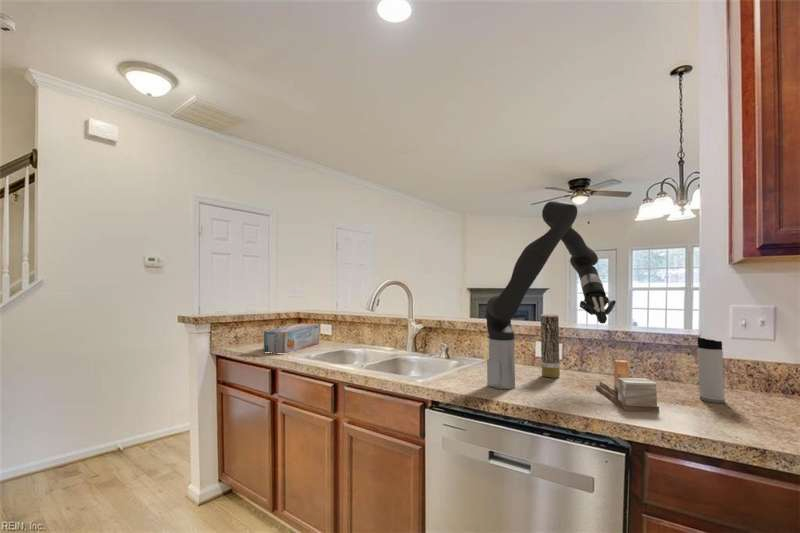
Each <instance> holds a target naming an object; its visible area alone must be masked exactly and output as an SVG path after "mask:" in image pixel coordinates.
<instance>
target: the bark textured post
mask: <svg viewBox="0 0 800 533" xmlns="http://www.w3.org/2000/svg"><path fill="white" fill-rule="evenodd" d="M559 324H560V323H559V314H556V313H555V314H552V313H542V314H540V348H541V349H540V350H541V351H540V353H541V375H542V377H545V378H551V379H557V378H559V377H560V375H561V374H560V332H559V331H560V330H559V328H560V327H559Z"/></svg>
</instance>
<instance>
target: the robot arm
mask: <svg viewBox="0 0 800 533" xmlns="http://www.w3.org/2000/svg"><path fill="white" fill-rule="evenodd" d="M541 212H542V214H541V217H542V219H543V222H544V223H545V224H546V225H547V226H548V227H549V228H550V229H548V231H546V232H545V233H543V235H542V236H540V237H538V238H537V239H535V240H534V241H531V242H530V243H529V244H528V245H527V246H526V247H525V248H524V249H523V250H522V252H521V254H520V255H519V257H518V258H517V260H516V262H515V264H514V267H513V270H512V275H511V277H510V279H509V281H508V283H507V285H506V286H505V288H504V289H503V291H502V292H501V293H500V294H499V295H493V296H492V297H490V299H489V300H488V301H487V303H486V308H485V309H486V310H485V311H486V312H485V314H486V330H487V333H488V359H487V360H486V378H487V379H486V381H487V383H486V384H487V386H488V387H491V388H495V389H497V390H509V389H514V388H516V362H515V359H516V358H515V357H516V356H515V351H516V350H515V331H514V330H513V326H512V321H511V320H512V319H513V318H514V317H515V315H516V314H517V312H518V310H519V308H520V306H521V305H522V302H523V300H524V298H525V295H527V292H528V291H529V289H530V288H531V286H532V285H533V283H534V282H535V280H536V278H538V276H539V274H540V272H541V271H542V269H543V268H544V266H545V265H546V263H547V262H548V260H549V258H550V256H551V255H552V253H553V252H554V250H555V249H556V248H557V246H558V244H559V243H560V241H561V242H562V243H563V244H564V246H565V247H566V250H567V251H568V254H570V256H571V257H570V259H569V262H570V263H569V264H570V266H572V268H573V270H575V271H576V273H577V274H578V278H579V281H580V286H581V291H582V294H583V297H584V300H581V301H580V303H579V308H581V309H583V311H585V312H586V313H588V314H589V315H591V316H594V315H595V316H596V319H597V322H598V323H599V324H605V323H606V322H607V320H608V317H607V315H609V314H610V313H611V312H612V310H613V309H614V308H615V306H616V302H617V301H616V300H610V299H609V297H608V296H607V294H606V291H605V288H604V284H603V283H602V280H601V278H600V276H599V273H598V270H597V267H595V265H596V264H597V263H598V261H599V258H598V257H599V256H598V255H597V253H596V252H595V251H594V250H593V249H592V248H590V247H589V246H588V245H587V244H586V242H585V241H584V239H583V237H582V236H581V235H580V233H579V232H578V231H576V230H575V229H574V228H573V227H572V226H573V224H574V223H575V221H576V219H577V217H578V207H577V206H576V204H573V203H570V202H565V201H559V200H558V201H557V200H550V201H548V202H546V204H544V206H543V207H542V211H541ZM606 305H608V306H607V308H606V309H605V307H606Z"/></svg>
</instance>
